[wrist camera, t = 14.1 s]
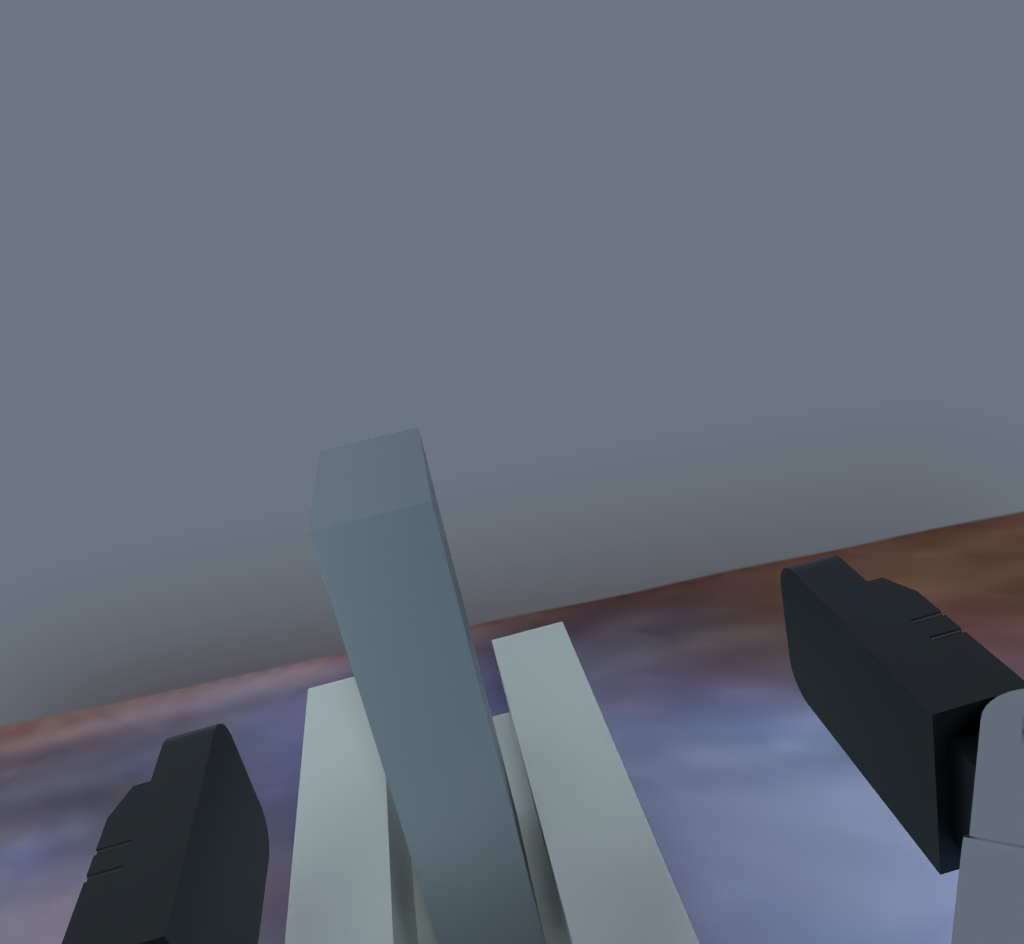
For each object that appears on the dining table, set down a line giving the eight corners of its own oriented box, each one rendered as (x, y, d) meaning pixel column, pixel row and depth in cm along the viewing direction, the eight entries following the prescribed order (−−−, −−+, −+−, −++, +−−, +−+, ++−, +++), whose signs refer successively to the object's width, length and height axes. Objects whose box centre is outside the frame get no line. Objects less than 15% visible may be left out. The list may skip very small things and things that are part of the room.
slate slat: (516, 813, 33) (418, 427, 27) (547, 951, 27) (431, 500, 22) (435, 836, 33) (320, 451, 27) (450, 979, 27) (308, 530, 22)
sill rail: (586, 715, 39) (567, 620, 37) (757, 1142, 22) (735, 1005, 21) (335, 784, 38) (303, 689, 37) (317, 1280, 22) (256, 1150, 20)
